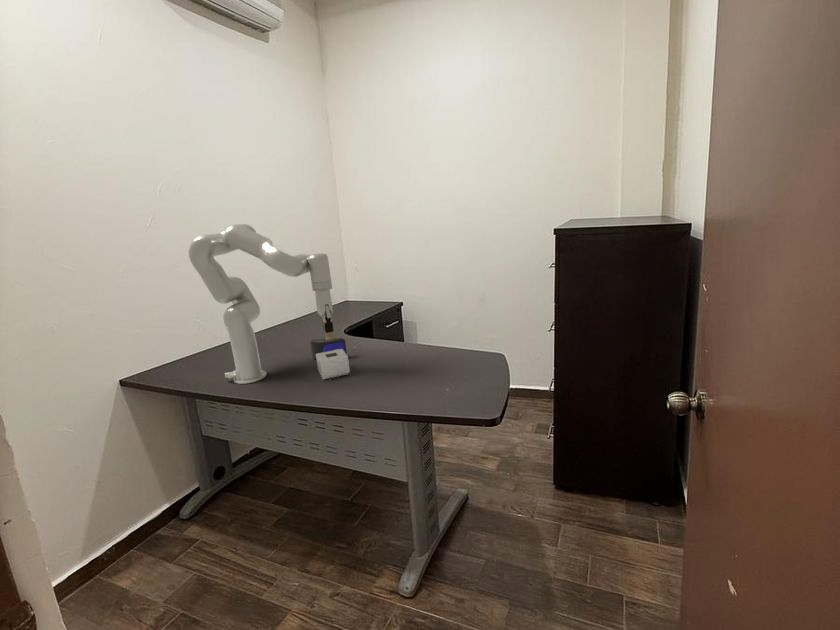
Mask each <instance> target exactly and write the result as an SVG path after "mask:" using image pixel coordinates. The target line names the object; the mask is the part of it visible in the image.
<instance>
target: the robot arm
mask: <svg viewBox="0 0 840 630" xmlns="http://www.w3.org/2000/svg"><path fill="white" fill-rule="evenodd" d="M237 250H239V251H242V252H244V253H247V254H248V255H250V256H253V257H255V258H257V259H259V260H260V261H262V262H263V263H264V264H266V265H267V266H268V267H269V268H271V269H273V270H275V271H277V272H279V273H281V274H284V275H286V276H288V277H293V278H295V277H296V278H297V277H299V276H302V275H305V274H307V273H309V275H310V280H311V288H312V292H314V294H315V295H314V296H315V303H316V312H317V314H318V315H319V316H321V318H322V320H321V321H322V327H323V331H324V333H325V332H326V333H328V332H333V333H334V325H333V324H334V323H333V318H332V315H333V313H334V309H333V303H332V302H333V301H332V295H331V290H332V289H333V285H332V278H331V277H332V276H331V270H330V262H329V257H328V255H327V254H326V253H313V254H303V253H302V254H300V253H299V254H297V255H291V254H288V253H285V252H284V251H282V250H280V249H278V248H277V247H276V246H274V244H273V241H272V240H271V239H270V238H268V237H266V236H264V235H262V234H260V233H257V231H256V230H255V228H254V227H252V226H251V225H249V224H246V223H241V224H239V223H238V224H232V225H229V226H228V227H227V228H225V230H224V231H221V232H218V233H207V234H201V235H199V236H196V237H195V238H194V239H193V240H192V241H191V242H190V244H189V248H188V258H189V261H190V263H191V265H192V266H193V267H194V269H195V270H196V272H197V273H198V274H199V277H201V280H202V281H203V283H204V284H205V286H206V288H207V289H208V290H209V292H210V295H211V296H212V297H213V299H214V300H215V301H216V302H217V303H218V304H222V305H225V304H229V303H232V304H231V305H230V306H228V307H227V308H226V309H225V311H224V313H223V318H222V319H223V323H224V325H225V327H226V330H227V333H228V337H229V341H230V347H231V351H232V352H231V353H232V355H233V361H234V365H235V370H232V371H231V372H225V373H224V377H225V379H226V378H228V379H232V378H233V382H234V383H235V384H238V385H244V384H245V385H246V384H252V383H256V382H259V381H260V380H263V379H264V378H266V376H267V372H266V370H263V369H262V365H261V360H260V354H259V353H260V352H259V348H258V344H257V337H256V334H255V331H254V329H253V327H252V322H254V321H255V320H257V319H258V318H259V316H260V313H261V308H260V305H259V303H258V301H257V300H256V298H255V296H254V294H253V292H252V291H251V290H250V288H249V287H248V285H247V283H246V282H245V281H244V280H243V279H241V278H240V277H238V276H228V274H227V273H226V271H225V270H224V268H223V266H222V265H221V264H220V263H219V261H217V260H216V259H215V258H214V257H217V256H222V255H226V254H230V253H232V252H235V251H237ZM325 314H327V315H325ZM322 315H324V321H325V323H324V324H323V317H322ZM324 327H325V330H324Z"/></svg>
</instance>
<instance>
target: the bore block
mask: <svg viewBox="0 0 840 630" xmlns="http://www.w3.org/2000/svg"><path fill="white" fill-rule="evenodd" d="M316 359H317V360H316V365H317V371H319V372H318V374H319V373H320V374H319V376H320V375H321V376H320V378H321V377H322V378H321V380H322V379H325V378H329V377H333V376H337V375H341V374H345V373H349V372H350V373H351V371H350V364H349V363H350V362H349V356H348V353H347V354H346V353H345V352H344V351H343V349H338V350H333V351H328V352H323V353H318V354H316Z"/></svg>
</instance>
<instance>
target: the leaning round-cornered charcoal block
mask: <svg viewBox="0 0 840 630" xmlns="http://www.w3.org/2000/svg"><path fill="white" fill-rule="evenodd" d="M309 344H310V349H311V356H312V359H313V360H315V359H316V354H318V353H323V352H328V351H333V350H338V349H343V351H344V352H345V353H346V354H347V355H348V353H347V344H346V340H345V338H343V337H342V338H341V337H339V338H336V337H334V339H333V340H330V341H327V340H326V338H316V339H311V340H310V342H309ZM315 361H317V359H316V360H315Z"/></svg>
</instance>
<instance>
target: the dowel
mask: <svg viewBox="0 0 840 630" xmlns="http://www.w3.org/2000/svg"><path fill="white" fill-rule="evenodd" d="M325 315H327V314H325ZM322 317H323V320H322V321H323V322H322V325H323V324H324V323H325V321H324V315H322V316H321V318H322ZM324 330H325V327H324V329H323V331H324ZM324 337H325V339H326V340H327V341H330V340H333V339H334V338H335V335H334V331H333V332H328V333H326V332H325V331H324Z"/></svg>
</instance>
